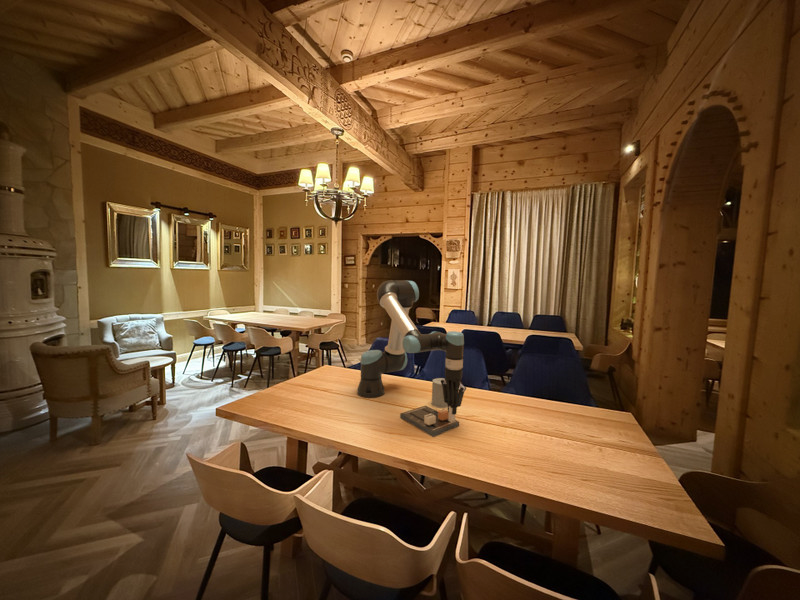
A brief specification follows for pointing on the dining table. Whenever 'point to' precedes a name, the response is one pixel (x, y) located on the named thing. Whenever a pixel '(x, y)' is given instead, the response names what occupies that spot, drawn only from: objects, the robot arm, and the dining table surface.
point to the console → (417, 420)
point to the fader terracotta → (443, 414)
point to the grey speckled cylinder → (438, 394)
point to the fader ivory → (430, 419)
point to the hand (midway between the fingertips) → (451, 420)
